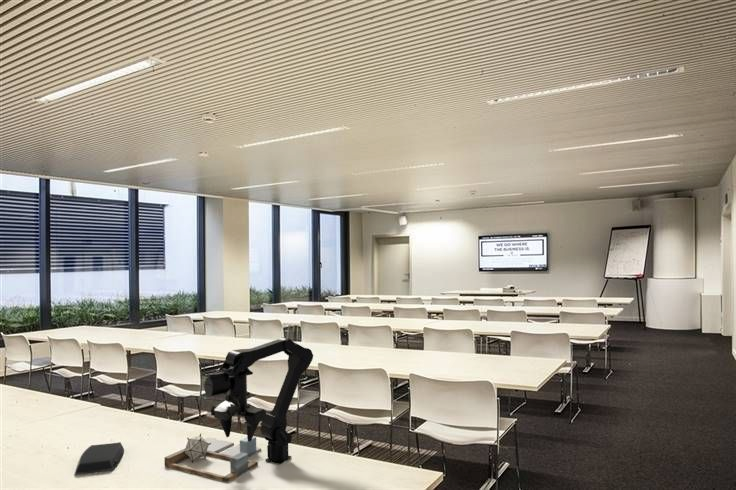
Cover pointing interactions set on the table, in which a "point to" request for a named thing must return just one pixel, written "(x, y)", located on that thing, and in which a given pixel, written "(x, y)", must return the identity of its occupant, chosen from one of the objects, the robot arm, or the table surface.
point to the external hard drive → (100, 458)
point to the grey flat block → (242, 447)
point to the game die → (196, 448)
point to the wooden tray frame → (237, 462)
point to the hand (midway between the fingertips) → (238, 439)
